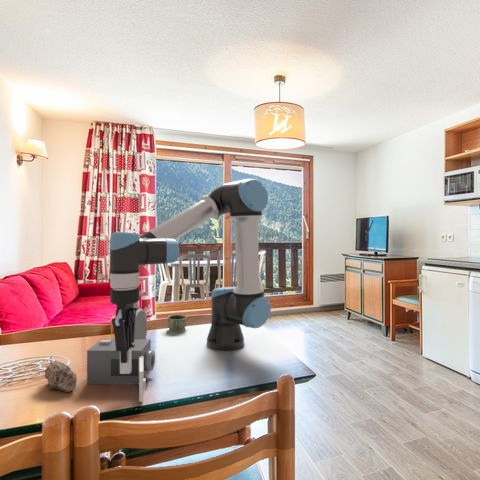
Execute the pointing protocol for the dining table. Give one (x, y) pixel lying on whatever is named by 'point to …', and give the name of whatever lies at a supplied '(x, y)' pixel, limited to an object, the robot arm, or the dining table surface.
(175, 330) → the vessel
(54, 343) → the dining table surface
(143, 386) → the door
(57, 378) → the rock
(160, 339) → the dining table surface
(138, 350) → the camera body
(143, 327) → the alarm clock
